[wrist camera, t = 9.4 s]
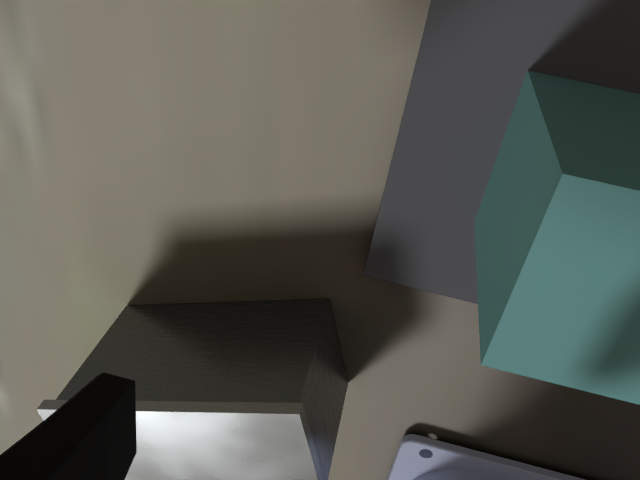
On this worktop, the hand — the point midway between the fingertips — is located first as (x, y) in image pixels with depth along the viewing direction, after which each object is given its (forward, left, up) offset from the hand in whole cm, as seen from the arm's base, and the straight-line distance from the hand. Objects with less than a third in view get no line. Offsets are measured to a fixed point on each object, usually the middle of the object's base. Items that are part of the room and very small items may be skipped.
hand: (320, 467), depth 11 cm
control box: (+4, +7, -9) cm, 12 cm away
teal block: (-5, -3, -9) cm, 11 cm away
